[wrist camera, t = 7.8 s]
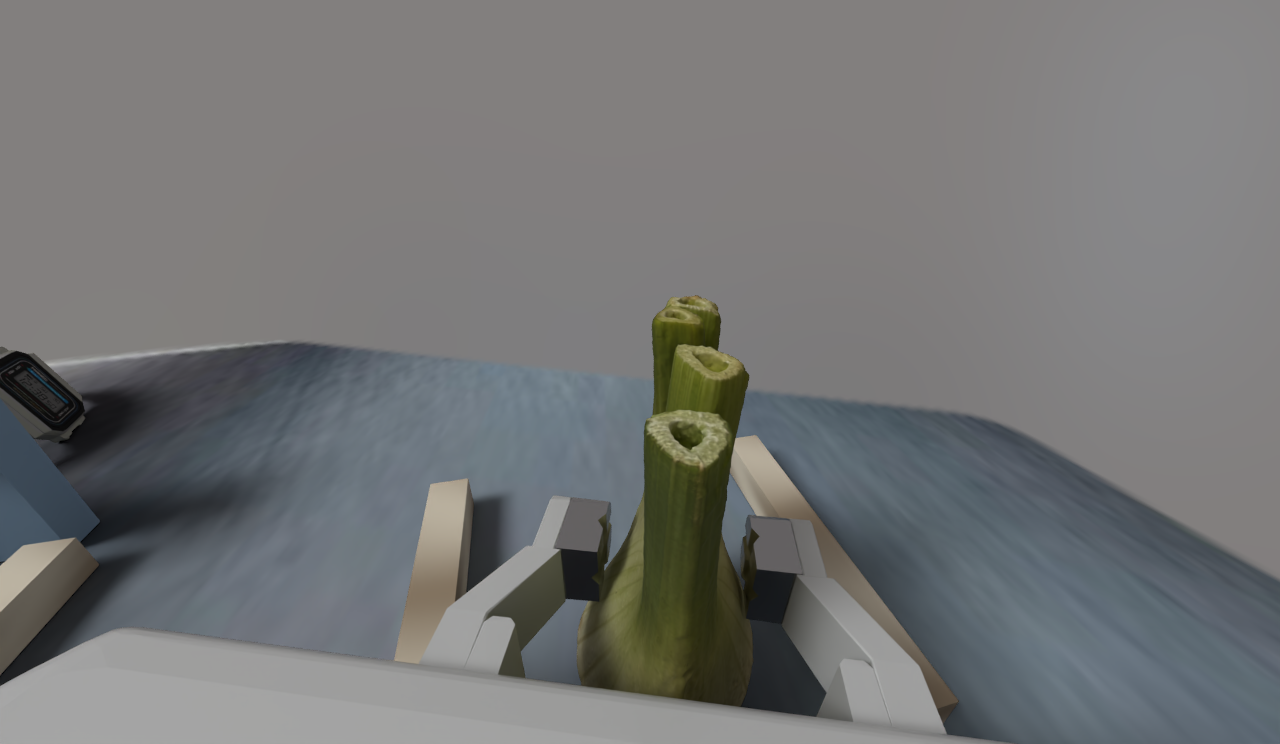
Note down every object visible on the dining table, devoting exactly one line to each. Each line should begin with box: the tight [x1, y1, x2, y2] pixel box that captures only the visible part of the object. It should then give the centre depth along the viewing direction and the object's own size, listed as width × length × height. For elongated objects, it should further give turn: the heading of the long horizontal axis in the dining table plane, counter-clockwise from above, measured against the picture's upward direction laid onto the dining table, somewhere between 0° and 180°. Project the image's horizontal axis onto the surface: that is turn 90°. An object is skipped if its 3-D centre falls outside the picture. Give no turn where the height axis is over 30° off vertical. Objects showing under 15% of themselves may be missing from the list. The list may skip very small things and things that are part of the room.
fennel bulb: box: [577, 295, 753, 707], centre depth 11 cm, size 6×5×12 cm
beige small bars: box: [0, 435, 959, 723], centre depth 13 cm, size 12×42×2 cm, turn 104°
